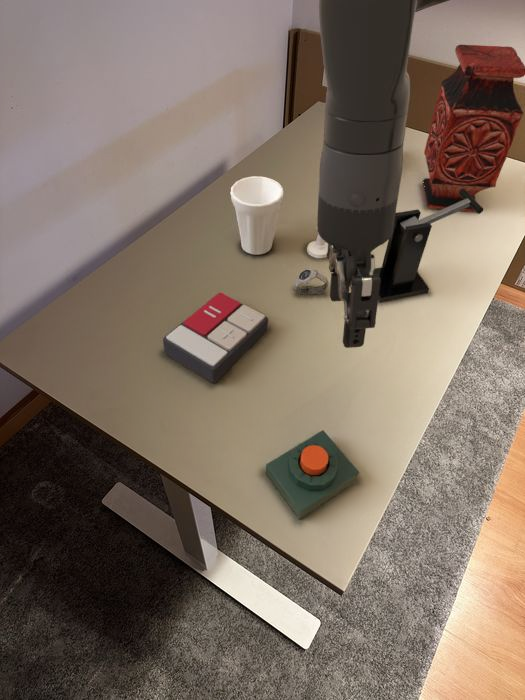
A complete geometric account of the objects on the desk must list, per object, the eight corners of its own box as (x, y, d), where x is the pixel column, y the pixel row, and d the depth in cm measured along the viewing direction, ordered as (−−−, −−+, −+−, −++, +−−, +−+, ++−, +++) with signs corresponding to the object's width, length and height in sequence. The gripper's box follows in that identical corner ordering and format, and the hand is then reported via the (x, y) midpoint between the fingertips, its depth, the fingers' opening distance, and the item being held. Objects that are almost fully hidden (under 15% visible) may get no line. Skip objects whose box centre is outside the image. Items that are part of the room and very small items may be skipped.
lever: (464, 195, 89) (465, 184, 87) (483, 214, 85) (484, 203, 83) (396, 226, 90) (395, 216, 88) (411, 246, 86) (410, 236, 84)
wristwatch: (293, 286, 96) (295, 265, 92) (326, 286, 96) (329, 265, 92) (294, 298, 94) (296, 278, 90) (328, 298, 94) (331, 278, 90)
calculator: (269, 314, 86) (213, 367, 77) (268, 332, 89) (214, 384, 80) (219, 288, 90) (160, 335, 81) (219, 306, 93) (163, 353, 85)
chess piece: (306, 242, 105) (310, 200, 97) (329, 243, 105) (335, 201, 97) (307, 258, 101) (311, 215, 94) (331, 258, 102) (338, 216, 94)
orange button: (332, 466, 67) (334, 460, 66) (311, 480, 66) (312, 474, 64) (315, 446, 69) (317, 440, 68) (294, 460, 68) (295, 453, 66)
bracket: (408, 266, 100) (428, 202, 89) (427, 293, 95) (451, 228, 84) (362, 275, 98) (376, 210, 87) (379, 303, 93) (397, 237, 82)
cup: (226, 257, 101) (223, 201, 91) (239, 228, 108) (238, 172, 98) (274, 265, 100) (277, 209, 90) (285, 235, 106) (288, 179, 96)
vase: (414, 179, 121) (452, 40, 98) (472, 183, 120) (524, 44, 98) (420, 213, 112) (463, 68, 89) (483, 217, 111) (542, 72, 89)
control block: (356, 481, 70) (361, 466, 67) (299, 520, 67) (301, 506, 63) (321, 439, 75) (324, 422, 71) (265, 473, 71) (266, 458, 67)
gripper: (420, 222, 43) (393, 360, 53) (379, 156, 53) (364, 283, 64) (331, 228, 42) (323, 365, 53) (308, 161, 53) (305, 287, 64)
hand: (345, 321), depth 59 cm, fingers open, 8 cm apart
